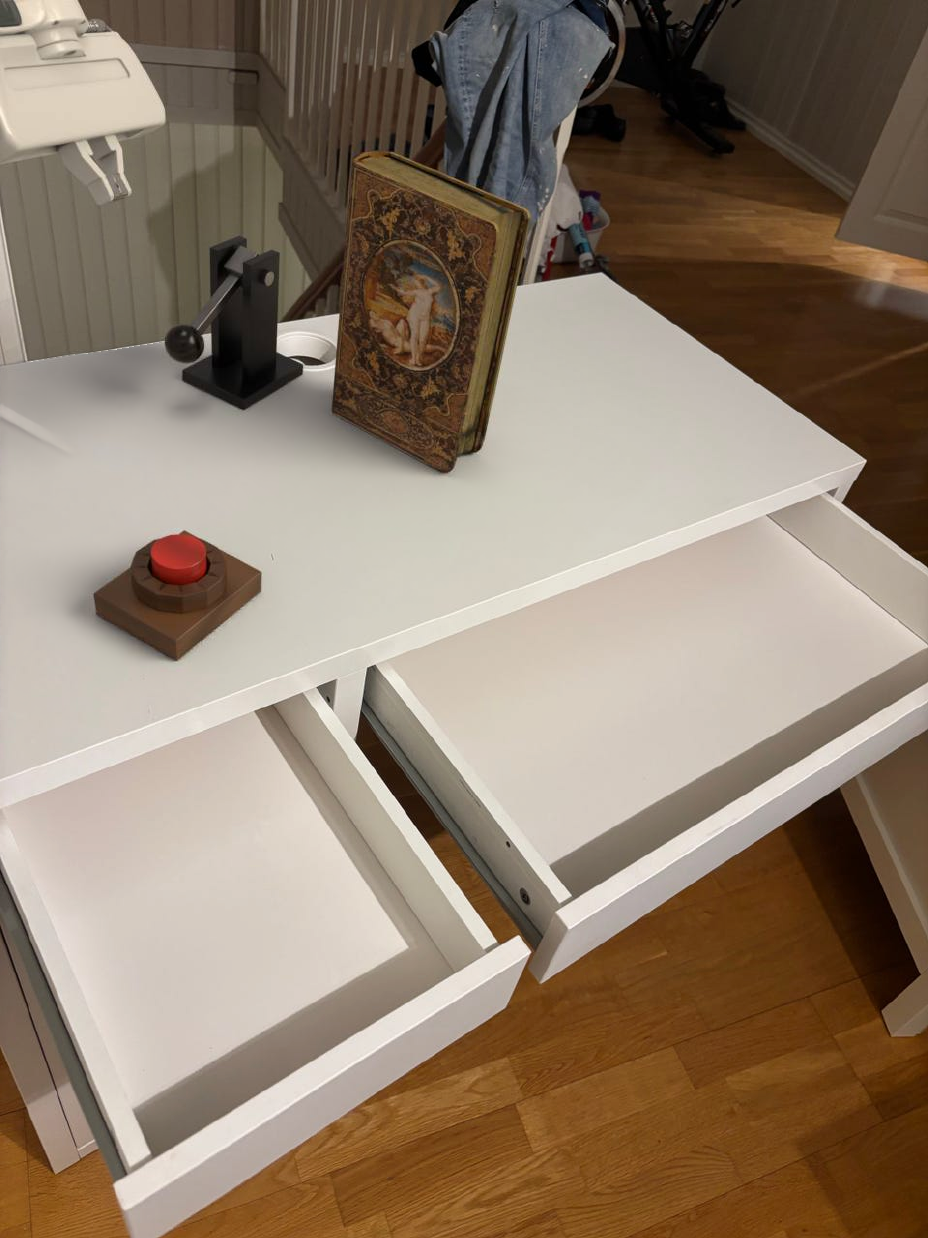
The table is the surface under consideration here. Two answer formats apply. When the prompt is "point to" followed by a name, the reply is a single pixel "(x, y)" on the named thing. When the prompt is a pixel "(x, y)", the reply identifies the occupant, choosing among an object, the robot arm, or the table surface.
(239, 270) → the lever
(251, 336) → the bracket
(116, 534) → the table surface
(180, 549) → the button
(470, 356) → the book
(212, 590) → the button block
